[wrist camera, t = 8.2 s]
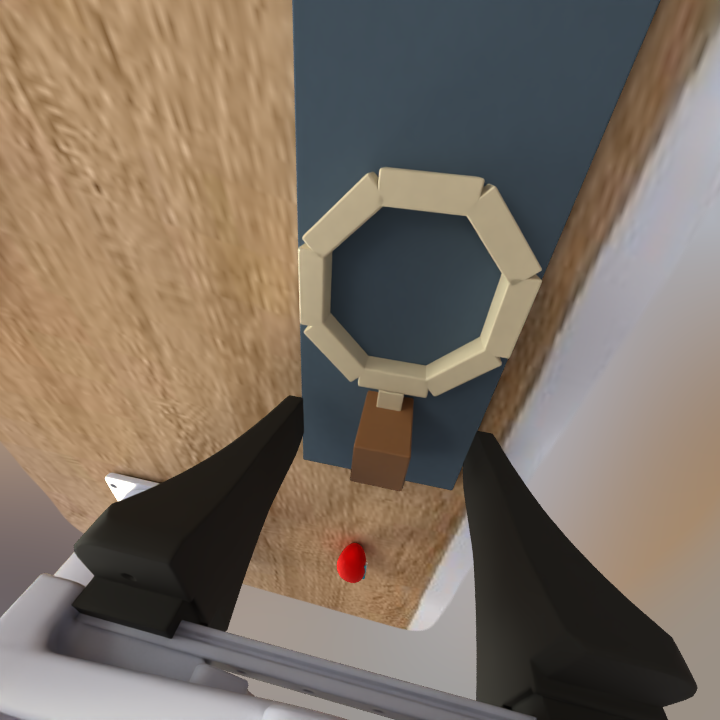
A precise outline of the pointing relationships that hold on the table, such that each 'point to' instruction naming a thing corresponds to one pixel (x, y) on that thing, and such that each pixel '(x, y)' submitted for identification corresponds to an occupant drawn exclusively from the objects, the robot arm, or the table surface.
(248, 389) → the table surface
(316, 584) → the table surface
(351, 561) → the candy
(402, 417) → the octagonal ring with handle
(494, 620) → the robot arm
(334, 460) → the mat
